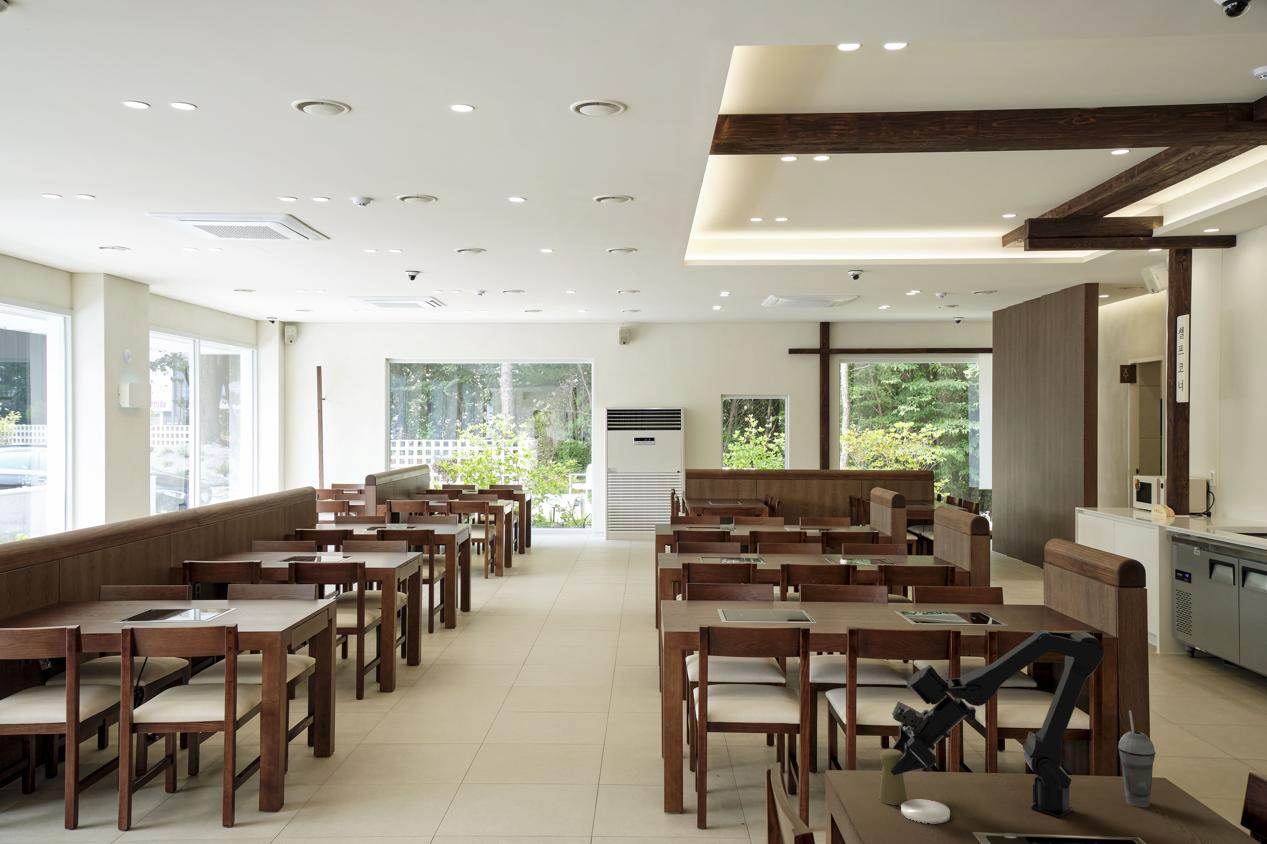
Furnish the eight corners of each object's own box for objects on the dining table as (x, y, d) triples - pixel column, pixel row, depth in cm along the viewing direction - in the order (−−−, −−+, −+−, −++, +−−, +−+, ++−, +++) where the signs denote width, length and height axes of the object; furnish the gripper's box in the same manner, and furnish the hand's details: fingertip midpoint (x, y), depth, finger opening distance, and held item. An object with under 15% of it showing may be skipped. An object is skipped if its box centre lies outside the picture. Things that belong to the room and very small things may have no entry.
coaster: (959, 815, 194) (959, 809, 195) (932, 827, 188) (932, 822, 188) (919, 801, 202) (918, 795, 202) (891, 812, 196) (891, 807, 196)
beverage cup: (1149, 812, 195) (1147, 718, 195) (1113, 802, 200) (1111, 711, 201) (1162, 803, 200) (1159, 711, 200) (1126, 794, 205) (1124, 704, 206)
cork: (910, 805, 200) (909, 755, 200) (882, 805, 200) (881, 755, 200) (902, 795, 206) (902, 746, 206) (876, 795, 206) (875, 746, 206)
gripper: (909, 681, 212) (861, 726, 214) (919, 703, 193) (866, 752, 195) (945, 717, 210) (896, 762, 212) (958, 743, 192) (904, 792, 194)
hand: (890, 766), depth 203 cm, fingers open, 9 cm apart
